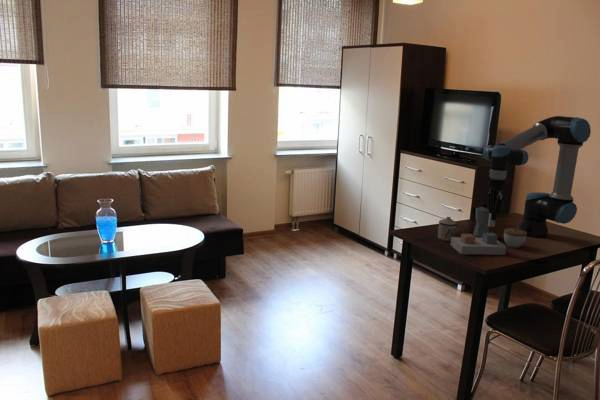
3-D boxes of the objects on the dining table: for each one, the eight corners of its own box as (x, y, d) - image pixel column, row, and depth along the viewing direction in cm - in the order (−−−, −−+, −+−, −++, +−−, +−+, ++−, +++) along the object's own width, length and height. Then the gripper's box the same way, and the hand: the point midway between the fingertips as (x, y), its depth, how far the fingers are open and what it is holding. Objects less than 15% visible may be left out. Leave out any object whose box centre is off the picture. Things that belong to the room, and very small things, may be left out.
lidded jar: (522, 250, 259) (525, 232, 257) (500, 246, 264) (502, 228, 262) (526, 245, 268) (529, 227, 266) (504, 241, 273) (507, 223, 271)
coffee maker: (495, 238, 277) (500, 205, 273) (482, 239, 274) (486, 206, 270) (477, 230, 291) (481, 199, 287) (464, 231, 288) (467, 199, 284)
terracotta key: (470, 242, 259) (471, 233, 258) (474, 245, 254) (475, 236, 253) (460, 242, 258) (461, 233, 257) (464, 245, 253) (465, 236, 252)
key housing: (492, 245, 265) (493, 237, 264) (505, 254, 251) (506, 246, 251) (450, 244, 263) (451, 237, 262) (461, 254, 249) (462, 246, 248)
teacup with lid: (445, 242, 267) (448, 220, 265) (433, 237, 275) (435, 215, 272) (463, 239, 273) (465, 218, 270) (450, 234, 281) (452, 213, 278)
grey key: (491, 241, 260) (492, 232, 259) (496, 244, 255) (497, 235, 254) (482, 241, 259) (483, 232, 258) (486, 244, 254) (487, 235, 253)
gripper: (484, 175, 256) (478, 222, 261) (496, 180, 243) (489, 229, 248) (498, 176, 256) (492, 222, 262) (511, 181, 244) (504, 230, 249)
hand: (491, 226), depth 255 cm, fingers closed
